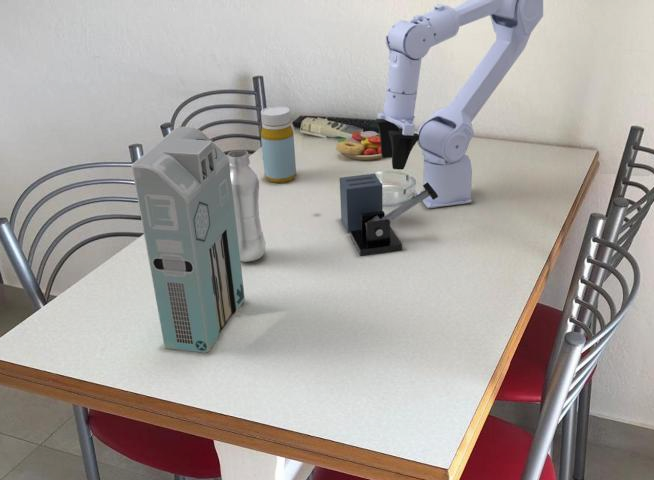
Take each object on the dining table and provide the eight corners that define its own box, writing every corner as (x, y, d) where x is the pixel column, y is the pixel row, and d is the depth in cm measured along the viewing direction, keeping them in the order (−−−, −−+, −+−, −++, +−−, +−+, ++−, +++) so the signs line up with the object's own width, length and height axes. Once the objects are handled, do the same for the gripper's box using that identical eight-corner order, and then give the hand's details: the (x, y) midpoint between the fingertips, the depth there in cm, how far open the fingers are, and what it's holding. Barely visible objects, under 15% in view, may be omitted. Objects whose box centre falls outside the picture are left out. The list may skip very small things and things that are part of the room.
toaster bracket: (390, 231, 168) (390, 205, 165) (402, 250, 161) (402, 223, 158) (350, 236, 167) (349, 211, 164) (360, 255, 160) (359, 229, 157)
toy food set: (333, 161, 200) (332, 147, 198) (342, 141, 210) (341, 128, 208) (390, 162, 198) (390, 148, 196) (397, 142, 208) (397, 128, 206)
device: (210, 354, 134) (182, 168, 117) (164, 348, 136) (130, 165, 119) (245, 302, 147) (225, 128, 130) (203, 298, 149) (178, 125, 132)
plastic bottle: (273, 252, 162) (263, 149, 151) (255, 268, 157) (244, 162, 146) (243, 247, 165) (231, 144, 153) (225, 262, 160) (211, 158, 148)
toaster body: (375, 216, 174) (374, 172, 169) (382, 228, 169) (382, 184, 164) (341, 220, 173) (339, 177, 168) (347, 233, 168) (346, 188, 163)
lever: (431, 189, 163) (426, 179, 161) (439, 199, 159) (434, 189, 157) (368, 229, 165) (362, 220, 163) (375, 240, 161) (369, 231, 159)
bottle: (300, 173, 194) (296, 106, 186) (289, 185, 189) (284, 117, 180) (272, 170, 196) (266, 104, 188) (260, 182, 191) (253, 114, 182)
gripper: (371, 81, 167) (363, 151, 173) (392, 99, 155) (382, 173, 161) (406, 83, 168) (396, 152, 175) (429, 100, 156) (418, 174, 163)
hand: (392, 162), depth 168 cm, fingers open, 7 cm apart
